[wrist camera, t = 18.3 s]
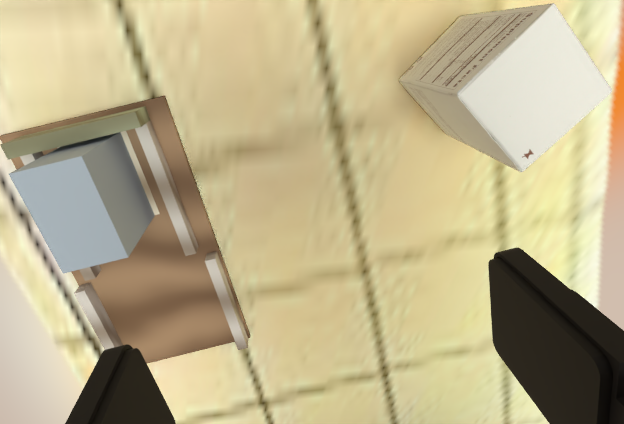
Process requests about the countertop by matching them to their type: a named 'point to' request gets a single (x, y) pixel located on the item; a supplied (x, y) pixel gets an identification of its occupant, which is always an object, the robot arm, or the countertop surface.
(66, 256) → the slider block
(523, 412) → the countertop surface
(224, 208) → the countertop surface
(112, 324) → the track
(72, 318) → the countertop surface
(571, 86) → the supplement box
